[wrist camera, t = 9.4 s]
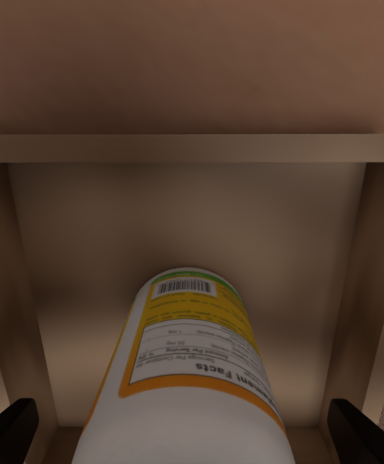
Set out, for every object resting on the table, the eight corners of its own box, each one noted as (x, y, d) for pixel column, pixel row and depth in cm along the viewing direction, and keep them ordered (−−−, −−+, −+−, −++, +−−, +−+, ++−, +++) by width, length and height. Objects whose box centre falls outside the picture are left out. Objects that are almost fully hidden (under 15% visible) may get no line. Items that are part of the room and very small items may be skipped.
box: (323, 423, 16) (358, 497, 12) (54, 423, 16) (17, 495, 13) (378, 138, 11) (457, 133, 8) (-5, 138, 11) (-89, 134, 8)
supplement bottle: (186, 378, 14) (171, 843, 5) (108, 313, 13) (-122, 762, 3) (268, 317, 13) (467, 773, 3) (190, 240, 12) (180, 615, 2)
